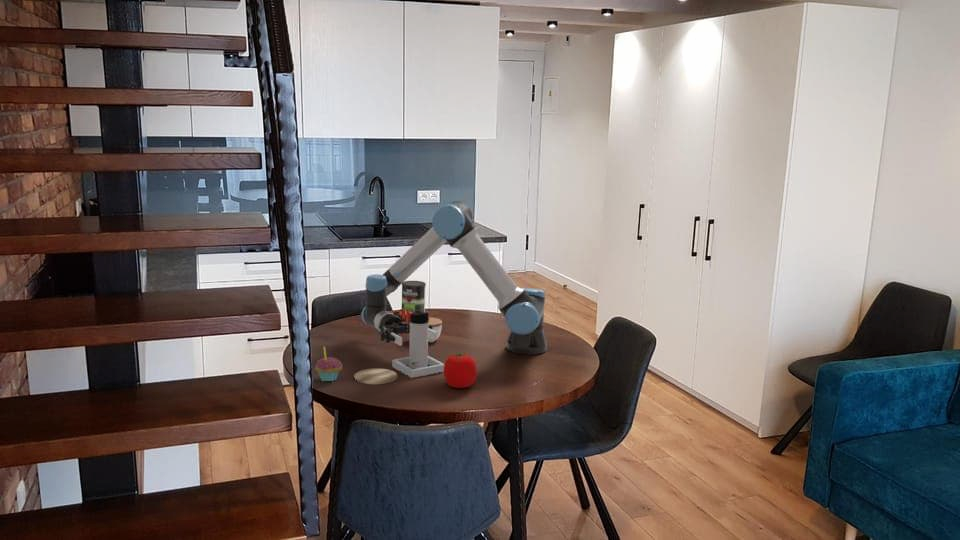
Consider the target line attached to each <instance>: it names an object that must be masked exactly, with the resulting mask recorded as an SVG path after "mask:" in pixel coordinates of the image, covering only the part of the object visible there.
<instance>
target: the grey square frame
mask: <svg viewBox="0 0 960 540" xmlns="http://www.w3.org/2000/svg"><path fill="white" fill-rule="evenodd" d="M391 363H392V364H391V365H392V366H391V367H392V368H394V369H396V370H397V371H399V372H400V371H401V372H400V373H402V374H404V375H406V376H407V375H408V376H407V377H409V378H411V379H414V377H415V378H419V376H420V377H424V376H428V375H429V374H430V375H434V373H435V374H440V373H444V364H445V363H443V362H441V361H439V360H438V359H435V358H433V357H432V356H429V355H428V364H427V365H429V366H428V367H423V368H418V369H411V368H409V356H406V357H402V358H401V357H400V358H396V359H395V358H394V359H392V362H391ZM439 372H440V373H439ZM430 375H429V376H430Z"/></svg>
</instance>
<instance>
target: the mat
mask: <svg viewBox="0 0 960 540" xmlns="http://www.w3.org/2000/svg"><path fill="white" fill-rule="evenodd" d="M353 378H355V379H354V380H355V381H356V380H357V381H356V382H357V383H360V384H366V385H384V384H385V385H386V384H389V383H392V382H395V381H396V380H397V379H398V374H397V372H395V371H394V370H392V369H387V368H379V367H378V368H377V367H376V368H366V369H362V370H361V369H360V370H359V371H357V372H355V374H353Z"/></svg>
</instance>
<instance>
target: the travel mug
mask: <svg viewBox="0 0 960 540" xmlns="http://www.w3.org/2000/svg"><path fill="white" fill-rule="evenodd" d="M429 317H430V314H429V312H425V313H415V314H414V313H411V314H410V333H409V346H408V347H409V351H408V352H409V353H408V355H409V356H408V357H409V365H408V367H409V368H411V369H418V368H423V367H428V356H429V343H428V327H429V324H428V323H429V320H428V319H429Z"/></svg>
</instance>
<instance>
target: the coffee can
mask: <svg viewBox="0 0 960 540" xmlns="http://www.w3.org/2000/svg"><path fill="white" fill-rule="evenodd" d="M426 284H427V283H426V282H424V281H422V280H421V281H420V280H405V281H404V282H403V283H402V284H401V309H402V310H404V309H408V311H411V312H412V313H414V314H415V313H426V308H425V307H426Z"/></svg>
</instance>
